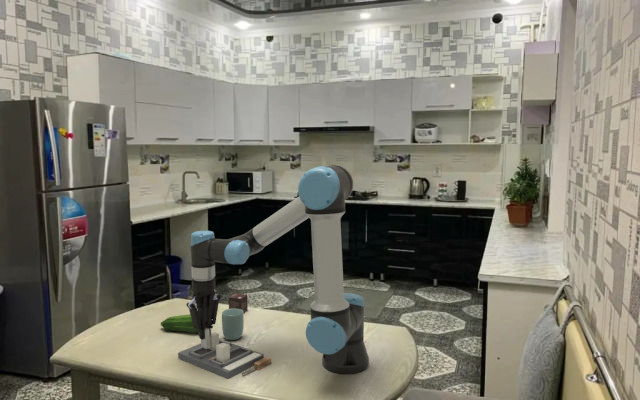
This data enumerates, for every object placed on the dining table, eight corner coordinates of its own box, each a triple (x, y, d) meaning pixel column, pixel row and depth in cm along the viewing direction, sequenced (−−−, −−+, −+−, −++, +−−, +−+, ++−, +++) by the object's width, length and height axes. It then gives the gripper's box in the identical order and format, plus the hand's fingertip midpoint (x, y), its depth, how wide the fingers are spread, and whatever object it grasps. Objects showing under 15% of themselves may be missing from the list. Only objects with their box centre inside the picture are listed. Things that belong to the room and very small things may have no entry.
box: (235, 309, 211) (235, 292, 210) (248, 310, 209) (247, 294, 208) (228, 313, 205) (228, 296, 204) (241, 315, 203) (241, 298, 202)
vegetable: (206, 313, 182) (157, 309, 186) (203, 332, 179) (154, 329, 183) (214, 315, 188) (167, 312, 192) (211, 334, 186) (163, 331, 190)
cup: (239, 343, 174) (238, 316, 173) (219, 341, 176) (218, 314, 175) (246, 334, 182) (246, 309, 181) (227, 333, 184) (226, 307, 183)
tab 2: (229, 359, 155) (229, 344, 155) (222, 363, 153) (222, 347, 152) (223, 357, 157) (223, 342, 157) (216, 360, 155) (216, 345, 154)
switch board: (264, 360, 160) (264, 352, 160) (228, 378, 148) (227, 370, 147) (215, 342, 175) (214, 335, 174) (178, 358, 162) (178, 350, 162)
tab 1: (219, 347, 165) (218, 333, 164) (212, 350, 163) (212, 336, 162) (213, 345, 167) (212, 331, 166) (206, 348, 164) (206, 333, 164)
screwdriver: (266, 362, 159) (266, 356, 159) (271, 364, 158) (271, 358, 158) (240, 376, 150) (240, 370, 150) (244, 378, 149) (244, 371, 148)
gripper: (211, 272, 167) (212, 338, 169) (179, 280, 156) (182, 351, 159) (226, 275, 162) (227, 343, 165) (195, 284, 152) (197, 356, 154)
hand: (205, 347), depth 162 cm, fingers closed
